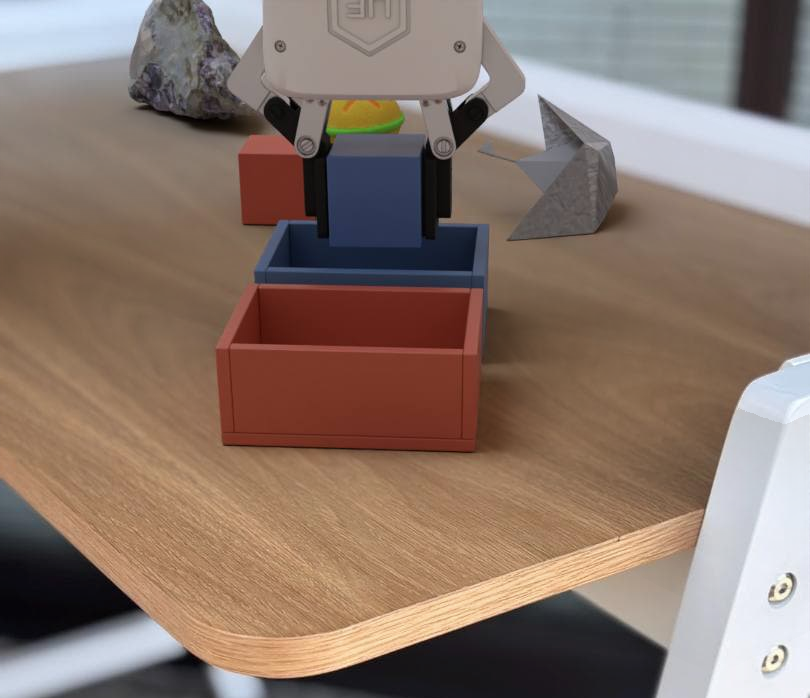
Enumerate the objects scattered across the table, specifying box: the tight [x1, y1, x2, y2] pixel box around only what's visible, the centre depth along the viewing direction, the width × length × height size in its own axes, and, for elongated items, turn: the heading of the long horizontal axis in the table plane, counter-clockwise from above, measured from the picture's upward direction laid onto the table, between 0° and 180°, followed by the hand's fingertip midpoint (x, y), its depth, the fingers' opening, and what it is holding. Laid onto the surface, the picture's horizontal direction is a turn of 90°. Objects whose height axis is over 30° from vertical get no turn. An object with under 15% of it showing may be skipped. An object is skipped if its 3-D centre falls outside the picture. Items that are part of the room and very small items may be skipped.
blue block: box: [327, 133, 427, 248], centre depth 74 cm, size 4×4×4 cm
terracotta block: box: [237, 134, 317, 226], centre depth 95 cm, size 4×4×4 cm
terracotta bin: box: [214, 283, 483, 453], centre depth 68 cm, size 11×8×5 cm
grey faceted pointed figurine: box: [476, 93, 619, 241], centre depth 94 cm, size 12×6×9 cm
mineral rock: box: [127, 0, 256, 120], centre depth 116 cm, size 13×11×10 cm
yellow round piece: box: [326, 100, 405, 143], centre depth 108 cm, size 7×10×5 cm
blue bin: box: [253, 220, 490, 364], centre depth 77 cm, size 11×8×5 cm
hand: (379, 227), depth 75 cm, fingers closed on blue block, 4 cm apart
